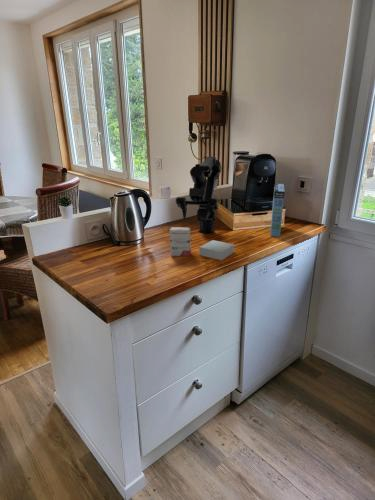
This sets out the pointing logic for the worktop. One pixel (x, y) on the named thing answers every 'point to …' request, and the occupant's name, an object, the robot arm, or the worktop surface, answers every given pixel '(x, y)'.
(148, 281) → the worktop surface
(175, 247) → the ink box
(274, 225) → the gum box
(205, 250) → the base block
